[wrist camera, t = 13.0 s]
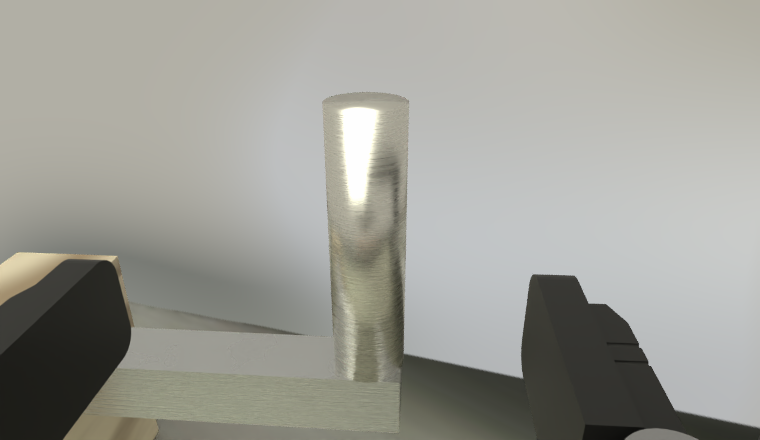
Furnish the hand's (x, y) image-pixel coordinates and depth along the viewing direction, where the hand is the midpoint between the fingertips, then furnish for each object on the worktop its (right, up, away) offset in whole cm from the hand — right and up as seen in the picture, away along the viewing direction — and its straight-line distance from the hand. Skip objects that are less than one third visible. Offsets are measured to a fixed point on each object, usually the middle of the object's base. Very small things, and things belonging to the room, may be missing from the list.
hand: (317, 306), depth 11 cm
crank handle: (-8, -7, +17) cm, 20 cm away
